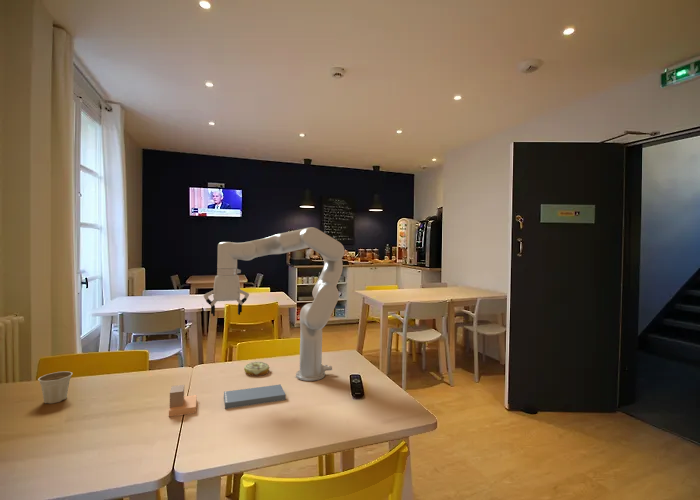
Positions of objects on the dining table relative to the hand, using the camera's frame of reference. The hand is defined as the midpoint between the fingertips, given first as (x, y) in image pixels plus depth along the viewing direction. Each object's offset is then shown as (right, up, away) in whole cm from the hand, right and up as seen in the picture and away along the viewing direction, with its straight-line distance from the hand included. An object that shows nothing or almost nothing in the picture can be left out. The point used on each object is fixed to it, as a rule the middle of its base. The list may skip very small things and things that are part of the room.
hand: (226, 314), depth 141 cm
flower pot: (-55, -28, -16) cm, 64 cm away
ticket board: (+15, -29, -12) cm, 34 cm away
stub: (-7, -28, -21) cm, 36 cm away
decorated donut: (+8, -29, +15) cm, 33 cm away
